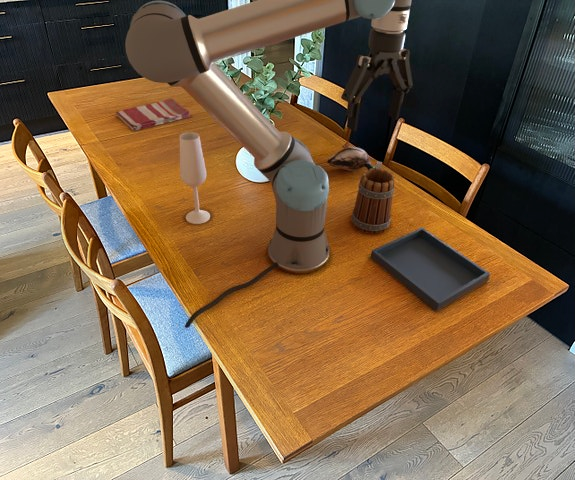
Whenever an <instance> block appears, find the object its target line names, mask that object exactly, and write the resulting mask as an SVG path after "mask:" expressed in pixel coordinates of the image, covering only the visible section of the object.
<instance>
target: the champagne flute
mask: <svg viewBox="0 0 575 480" xmlns="http://www.w3.org/2000/svg"><path fill="white" fill-rule="evenodd" d="M179 176H180V177H179V178H180V180H181V181H182V183H184V185H186V186H188V187H190V188H192V194H193V204H194V209H193V210H192V211H189V212H188V213H187V214H186V215H185V220H186V221H187V222H188V223H189V224H193V225H200V224H204V223H206V222H208V221H209V220H210V218H211V214H210V212H208V211H207V210H205V209H204V210H203V209H200V202H199V192H198V188H199V187H200V186H201V185H202V184H203V183H204V182H205V181H206V179H207V177H208V174H207V169H206V164H205V159H204V154H203V147H202V143H201V138H200V134H199V133H197V132H195V131H194V132H193V131H186V132H183V133H181V134H180V135H179Z"/></svg>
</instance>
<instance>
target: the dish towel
mask: <svg viewBox="0 0 575 480" xmlns="http://www.w3.org/2000/svg"><path fill="white" fill-rule="evenodd" d="M115 115H116V116H117V118H119V119H120V120H121V122H123V123H124V124H125V125H126V126H128V127H129V128H130V129H131V130H132V131H137V130H138V131H139V130H144V129H148V128H152V127H155V126H158V125H163V124H168V123H170V122H175V121H179V120H183V119H187V118H190V117H191V112H190V110H188V109H186V108H185V107H183V106H182V105H181V104H179V103H178V102H177V101H176V100H175V99H173V98H167V99H164V100H160V101H158V102H154V103H147V104H143V105H140V106H134V107H129V108H125V109H121V110H119V111H116V112H115Z"/></svg>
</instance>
